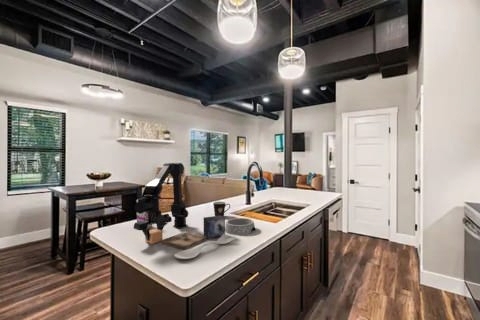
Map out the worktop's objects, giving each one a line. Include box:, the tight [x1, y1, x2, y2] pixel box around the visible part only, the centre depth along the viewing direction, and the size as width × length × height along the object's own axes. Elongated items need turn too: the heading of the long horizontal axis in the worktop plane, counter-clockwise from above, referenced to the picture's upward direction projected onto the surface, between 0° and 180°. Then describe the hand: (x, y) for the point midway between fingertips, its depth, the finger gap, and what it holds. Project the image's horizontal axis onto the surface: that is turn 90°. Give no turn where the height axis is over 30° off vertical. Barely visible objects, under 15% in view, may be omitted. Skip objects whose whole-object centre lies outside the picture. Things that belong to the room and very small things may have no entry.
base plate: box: [161, 231, 208, 251], centre depth 121 cm, size 16×16×4 cm
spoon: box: [173, 233, 237, 260], centre depth 110 cm, size 9×32×4 cm, turn 137°
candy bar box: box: [136, 199, 153, 228], centre depth 149 cm, size 11×5×16 cm, turn 49°
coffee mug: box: [212, 201, 231, 218], centre depth 169 cm, size 12×9×10 cm
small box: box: [202, 215, 226, 241], centre depth 128 cm, size 11×6×10 cm, turn 117°
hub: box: [144, 228, 164, 245], centre depth 122 cm, size 6×6×5 cm
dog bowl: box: [225, 217, 256, 236], centre depth 139 cm, size 17×18×5 cm
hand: (153, 238), depth 122 cm, fingers closed on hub, 6 cm apart
